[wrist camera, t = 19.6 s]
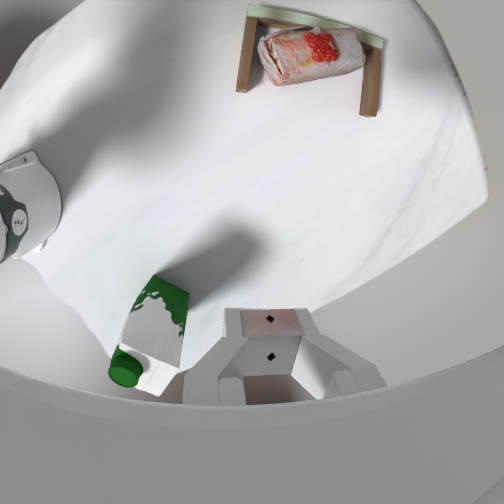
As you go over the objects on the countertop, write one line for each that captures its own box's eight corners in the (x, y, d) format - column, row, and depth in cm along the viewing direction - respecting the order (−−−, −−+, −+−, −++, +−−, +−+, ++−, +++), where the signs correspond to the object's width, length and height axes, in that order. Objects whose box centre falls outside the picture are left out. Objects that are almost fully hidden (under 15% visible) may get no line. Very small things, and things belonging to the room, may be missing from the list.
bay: (235, 91, 35) (236, 87, 32) (247, 13, 29) (248, 4, 26) (367, 117, 37) (377, 116, 34) (372, 44, 32) (382, 39, 29)
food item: (269, 94, 35) (283, 81, 26) (251, 49, 32) (259, 25, 23) (349, 76, 35) (380, 64, 26) (332, 34, 32) (358, 13, 23)
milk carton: (150, 268, 45) (113, 348, 26) (197, 292, 47) (185, 380, 29) (133, 304, 47) (99, 386, 29) (176, 325, 50) (160, 412, 31)
